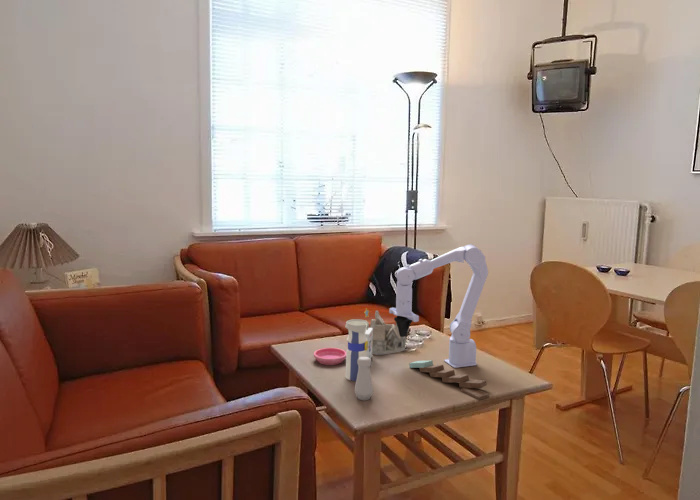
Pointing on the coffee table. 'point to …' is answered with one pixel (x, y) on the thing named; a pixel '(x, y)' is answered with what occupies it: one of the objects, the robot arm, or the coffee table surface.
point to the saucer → (330, 356)
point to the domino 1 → (420, 364)
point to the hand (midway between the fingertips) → (403, 336)
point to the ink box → (369, 341)
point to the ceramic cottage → (386, 337)
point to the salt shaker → (363, 379)
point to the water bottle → (356, 345)
